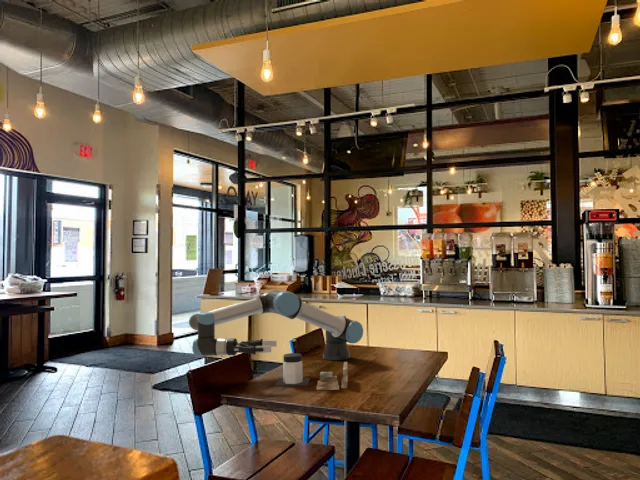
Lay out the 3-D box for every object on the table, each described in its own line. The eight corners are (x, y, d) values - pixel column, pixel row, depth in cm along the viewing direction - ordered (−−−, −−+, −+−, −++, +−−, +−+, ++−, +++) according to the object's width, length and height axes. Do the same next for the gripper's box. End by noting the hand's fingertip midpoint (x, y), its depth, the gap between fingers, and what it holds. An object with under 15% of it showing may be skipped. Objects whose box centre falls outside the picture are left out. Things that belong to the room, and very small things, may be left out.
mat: (275, 385, 208) (275, 384, 208) (279, 379, 219) (279, 377, 219) (307, 385, 206) (307, 384, 206) (310, 379, 218) (310, 377, 218)
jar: (304, 383, 208) (304, 356, 209) (286, 385, 206) (285, 357, 207) (299, 378, 217) (298, 352, 218) (281, 380, 215) (281, 353, 215)
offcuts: (317, 386, 200) (317, 373, 200) (318, 385, 203) (317, 371, 203) (337, 386, 199) (337, 373, 200) (338, 385, 202) (337, 371, 203)
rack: (316, 389, 200) (316, 370, 200) (319, 379, 217) (319, 361, 217) (346, 389, 199) (346, 370, 199) (347, 379, 216) (347, 361, 216)
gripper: (234, 349, 228) (278, 349, 226) (219, 361, 203) (268, 360, 201) (234, 334, 228) (278, 333, 226) (219, 343, 203) (268, 342, 202)
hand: (273, 346), depth 214 cm, fingers open, 13 cm apart
